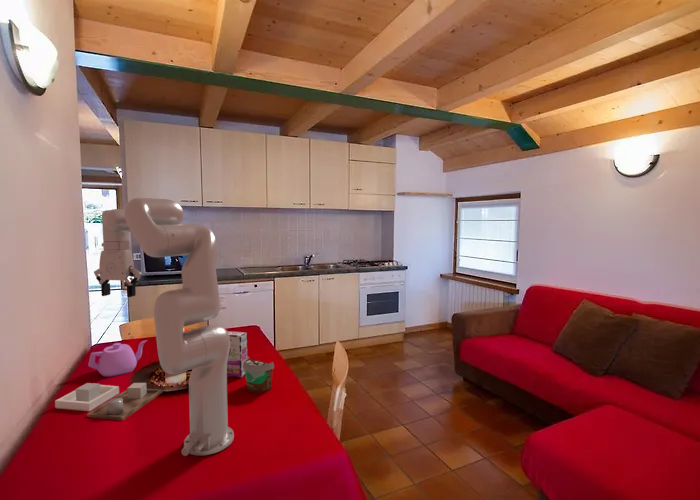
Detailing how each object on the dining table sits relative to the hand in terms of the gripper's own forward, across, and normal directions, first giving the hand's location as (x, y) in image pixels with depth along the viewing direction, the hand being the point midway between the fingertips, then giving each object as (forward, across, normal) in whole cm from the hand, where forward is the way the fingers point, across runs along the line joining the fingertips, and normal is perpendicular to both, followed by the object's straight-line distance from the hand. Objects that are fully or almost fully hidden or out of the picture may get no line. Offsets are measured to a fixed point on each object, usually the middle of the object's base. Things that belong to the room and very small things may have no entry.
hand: (118, 295), depth 127 cm
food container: (+34, +46, +7) cm, 57 cm away
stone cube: (+32, -4, -10) cm, 34 cm away
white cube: (+33, +9, -5) cm, 34 cm away
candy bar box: (+34, +32, +18) cm, 50 cm away
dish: (+33, -4, -10) cm, 35 cm away
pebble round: (+33, +10, -16) cm, 38 cm away
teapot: (+34, -13, +14) cm, 39 cm away
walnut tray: (+33, +10, -10) cm, 36 cm away
